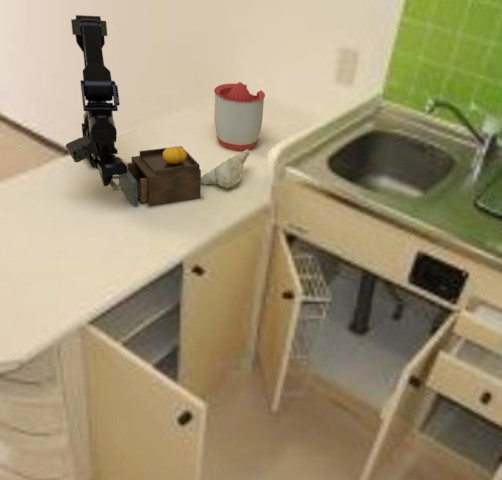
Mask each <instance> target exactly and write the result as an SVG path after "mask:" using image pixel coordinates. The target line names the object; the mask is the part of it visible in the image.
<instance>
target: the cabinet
mask: <svg viewBox="0 0 502 480" xmlns="http://www.w3.org/2000/svg"><path fill="white" fill-rule="evenodd" d="M131 162H134V163H135V164H136V165H137V166H138V167H139V169H140V170H141V171H142V172H143V174H144V175H145V176H146V177H147V178H148V196H149V201H145V203H146V204H147V206H149V207H156V206H162V205H167V204H174V203H181V202H186V201H187V202H188V201H193V200H199V199H201V191H202V190H201V189H202V187H201V185H202V183H201V177H202V170H201V169H200V168H199V170H195V171H188V172H181V173H174V174H167V175H160V176H156V175H155V173H154V172H153V171H152V170H151V169H150V168H149V166H148V165H147V164H146V163H145V162H144V160H143V159H142V158H141V157H140V155H136V156H131Z"/></svg>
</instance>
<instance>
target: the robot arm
mask: <svg viewBox="0 0 502 480" xmlns="http://www.w3.org/2000/svg"><path fill="white" fill-rule="evenodd" d="M70 22H71V33H72V35H73V36H75V43H76V44H77V46H78V47H79V48H80V50H81V52H82V55H83V65H84V68H83V69H82V79H83V80H80V91H81V100H82V109H83V112H84V114H83V122H82V123H81V133H82V137H79V138H76V139H74V140H71V141H70V142H67V143H66V144H65V148H66V150H67V152H68V153H69V156H70V157H71V158H72V161H74V163H80V162H82V161H84V160H87V162H88V163H89V165H90V167H92V168H95V169H97V171H98V174H99V176H100V180H101V182H102V185H103V187H109V186H110V185H109V183H110V181H111V179H112V177H113V176H118V175H121V174H126V173H127V163H126V162H125V161H124V160H123V159H122V157H120V156H116V155H118V154H119V153H118V151H119V150H118V149H117V148H116V145H115V144H116V143H117V139H118V137H117V128H116V122H115V119H114V114H113V113H114V112H118V111H119V110H118V109H119V108H118V106H120V96H119V88H118V87H119V86H118V85H117V84H116V82H115V80H113V79H112V74H111V71H110V69H108V67H107V66H106V65H105V61H104V54H103V48H104V46H105V43H106V42H105V41H106V40H105V37H108V26H107V25H108V24H107V20H102V19H101V16H100V15H83V14H82V15H81V14H76V15H75V18H74V19H70ZM86 101H87V103H86ZM111 101H113V102H111ZM112 180H113V179H112Z"/></svg>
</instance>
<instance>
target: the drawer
mask: <svg viewBox="0 0 502 480" xmlns="http://www.w3.org/2000/svg"><path fill="white" fill-rule="evenodd" d="M126 165H127V173H126V174H121V175H113V177H112V179H111V181H110V183H109V185H108V186H110V187H111V189H112V190H113V191H117V190H118V189H121V190H122V192H123V193H124V194H125V196H126V197H127V198H128V200H129V201H130V203H131V204H132V205H133V206H136V205H139V200H140V201H141V202H142V203H143V202H146V201H149V196H148V178H147V177H146V176H145V175H144V174H143V172H142V171H141V170H140V169H139V167H138V166H137V165H136V164H135V163H134V162H132V161H131V162H127V163H126ZM114 180H118V184H116V182H115V181H114Z"/></svg>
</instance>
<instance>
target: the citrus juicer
mask: <svg viewBox="0 0 502 480" xmlns="http://www.w3.org/2000/svg"><path fill="white" fill-rule="evenodd" d="M213 93H214V119H213V120H214V128H215V129H214V130H215V133H216V138H217V140H218V143H219V144H220V145H221V146H222V147H224V148H226V149H228V150H234V151H237V152H240V151H241V152H242V151H245V150H247V149H248V150H251V149H252V148H255V146H256V144H257V142H258V140H259V137H260V134H261V130H262V126H263V116H264V104H265V103H264V102H265V97H266V94H265V92H264V91H263V90H259V91H257V92H256V94H255V95H254V94H252V93H250V91H249V90H248V84H244V83H243V82H241V81H239V82H236V83H224V84H220V85H218V86H216V87H215V88H214V90H213Z"/></svg>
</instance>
